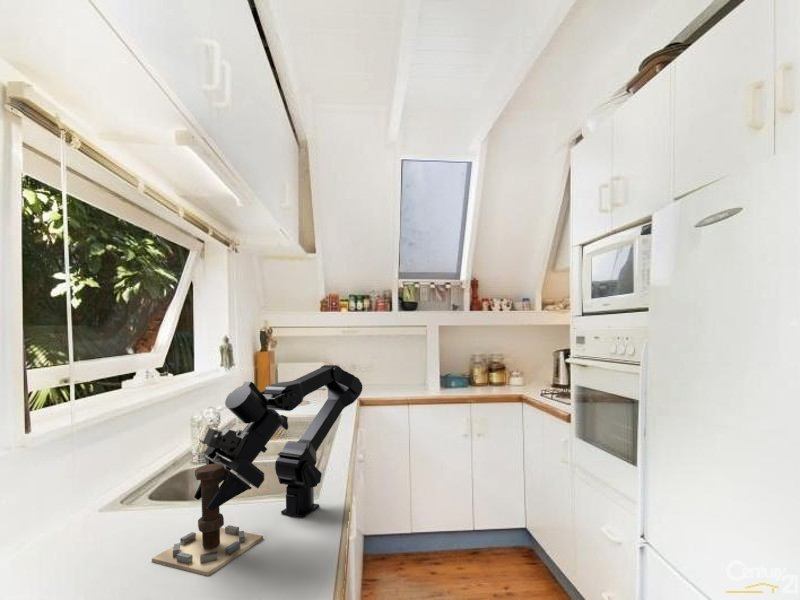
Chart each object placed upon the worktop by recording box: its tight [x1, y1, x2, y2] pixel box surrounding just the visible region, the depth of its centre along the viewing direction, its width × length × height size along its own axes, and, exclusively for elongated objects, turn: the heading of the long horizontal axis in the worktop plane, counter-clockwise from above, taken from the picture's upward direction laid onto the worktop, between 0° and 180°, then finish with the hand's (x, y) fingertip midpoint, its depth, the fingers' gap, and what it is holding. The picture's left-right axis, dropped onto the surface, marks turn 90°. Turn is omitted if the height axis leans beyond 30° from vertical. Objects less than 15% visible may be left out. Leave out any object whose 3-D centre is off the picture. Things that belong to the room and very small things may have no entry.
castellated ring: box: [172, 524, 245, 564], centre depth 84 cm, size 13×13×1 cm
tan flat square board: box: [151, 527, 264, 577], centre depth 84 cm, size 14×14×1 cm
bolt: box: [194, 464, 225, 549], centre depth 84 cm, size 6×5×15 cm
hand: (202, 503), depth 83 cm, fingers open, 7 cm apart
